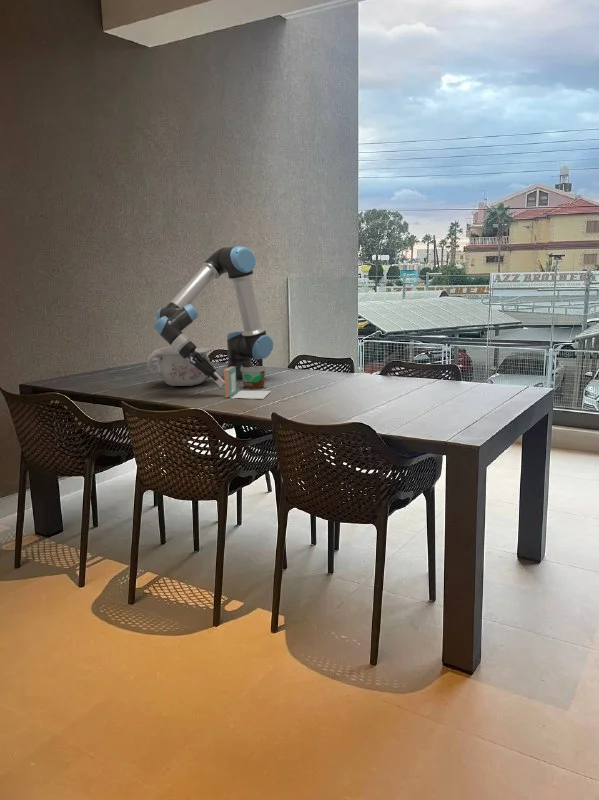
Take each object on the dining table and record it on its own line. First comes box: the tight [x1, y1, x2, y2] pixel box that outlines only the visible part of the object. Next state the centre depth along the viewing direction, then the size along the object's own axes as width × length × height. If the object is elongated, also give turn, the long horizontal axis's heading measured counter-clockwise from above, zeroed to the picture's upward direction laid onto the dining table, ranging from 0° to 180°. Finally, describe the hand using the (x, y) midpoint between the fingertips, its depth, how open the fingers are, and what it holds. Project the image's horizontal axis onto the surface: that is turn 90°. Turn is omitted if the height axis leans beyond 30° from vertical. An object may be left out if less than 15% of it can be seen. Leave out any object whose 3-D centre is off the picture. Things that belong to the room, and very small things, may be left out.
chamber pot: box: [146, 344, 213, 387], centre depth 305 cm, size 28×28×21 cm
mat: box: [230, 390, 272, 400], centre depth 277 cm, size 16×14×1 cm
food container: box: [240, 365, 267, 389], centre depth 293 cm, size 12×6×10 cm, turn 71°
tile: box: [223, 366, 238, 398], centre depth 277 cm, size 10×2×12 cm, turn 171°
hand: (223, 384), depth 278 cm, fingers closed
